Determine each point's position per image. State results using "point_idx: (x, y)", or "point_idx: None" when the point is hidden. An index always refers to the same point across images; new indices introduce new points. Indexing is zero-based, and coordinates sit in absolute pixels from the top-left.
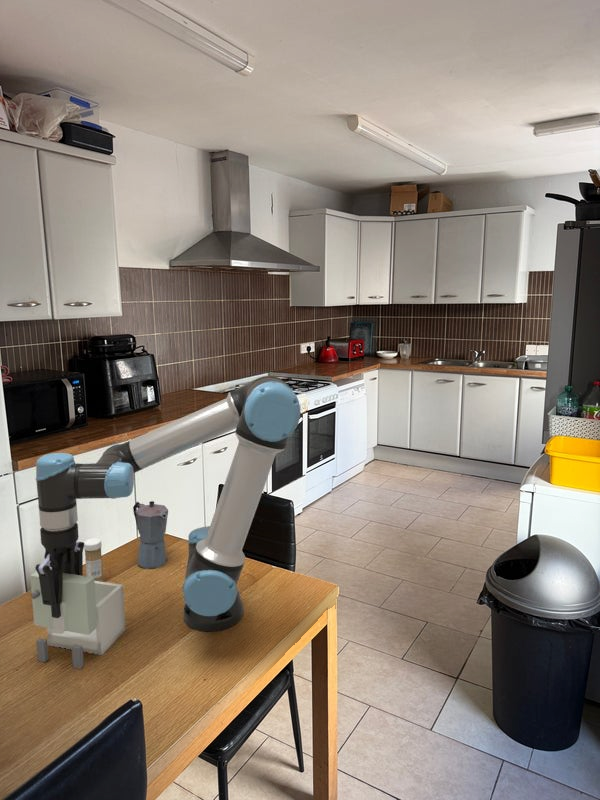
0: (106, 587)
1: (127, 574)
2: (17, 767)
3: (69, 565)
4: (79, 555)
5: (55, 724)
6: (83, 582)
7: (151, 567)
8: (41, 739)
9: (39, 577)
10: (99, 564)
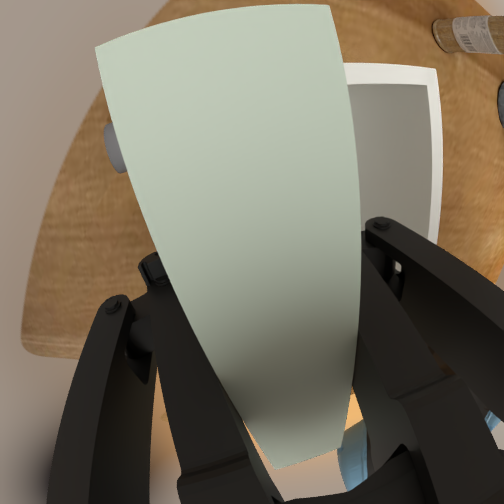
0: (421, 232)
1: (482, 81)
2: (30, 342)
3: (375, 454)
4: (489, 408)
5: (85, 327)
6: (283, 461)
7: (501, 117)
8: (62, 332)
9: (51, 494)
10: (489, 51)
